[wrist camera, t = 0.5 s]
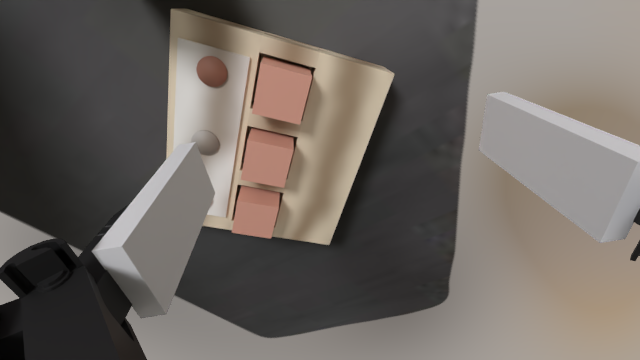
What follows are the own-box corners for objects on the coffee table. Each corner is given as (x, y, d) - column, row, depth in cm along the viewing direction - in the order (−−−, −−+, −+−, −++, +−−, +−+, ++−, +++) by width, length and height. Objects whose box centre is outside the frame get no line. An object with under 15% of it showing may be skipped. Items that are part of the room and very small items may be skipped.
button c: (256, 101, 29) (251, 113, 26) (264, 56, 27) (260, 62, 24) (299, 112, 30) (300, 124, 27) (309, 68, 28) (312, 76, 25)
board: (176, 200, 38) (163, 222, 34) (185, 8, 27) (168, 8, 23) (326, 225, 42) (329, 247, 38) (383, 66, 32) (396, 75, 28)
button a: (237, 212, 36) (231, 232, 33) (242, 182, 34) (237, 200, 31) (272, 218, 37) (271, 238, 34) (279, 189, 35) (278, 207, 32)
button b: (245, 162, 33) (240, 179, 30) (251, 126, 31) (247, 139, 28) (284, 170, 34) (283, 187, 30) (293, 135, 32) (293, 149, 28)
